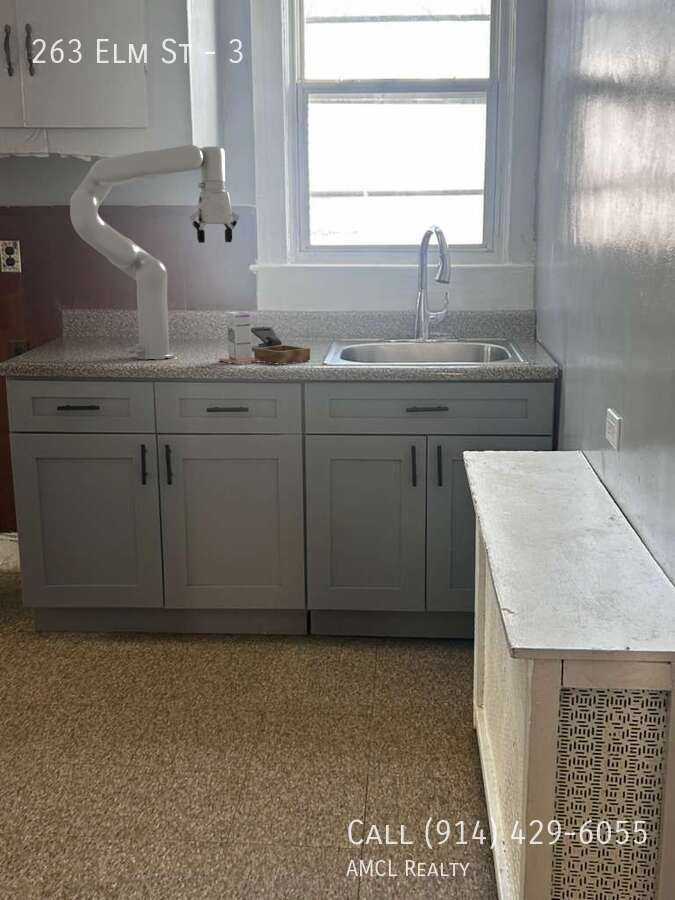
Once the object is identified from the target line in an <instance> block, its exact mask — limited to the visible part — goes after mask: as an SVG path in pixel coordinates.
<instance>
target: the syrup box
mask: <svg viewBox="0 0 675 900" xmlns="http://www.w3.org/2000/svg"><path fill="white" fill-rule="evenodd" d="M251 320H252V319H251V312H247V311H239V310H237V311H229V312H227V333H228V336H227V337H228V339H227V340H228V357H229V358H232V359H235V360H244V359H252V357H253V355H252V353H253V352H252V348H253V347H252V332H251V328H252V324H251V323H252V321H251Z"/></svg>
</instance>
